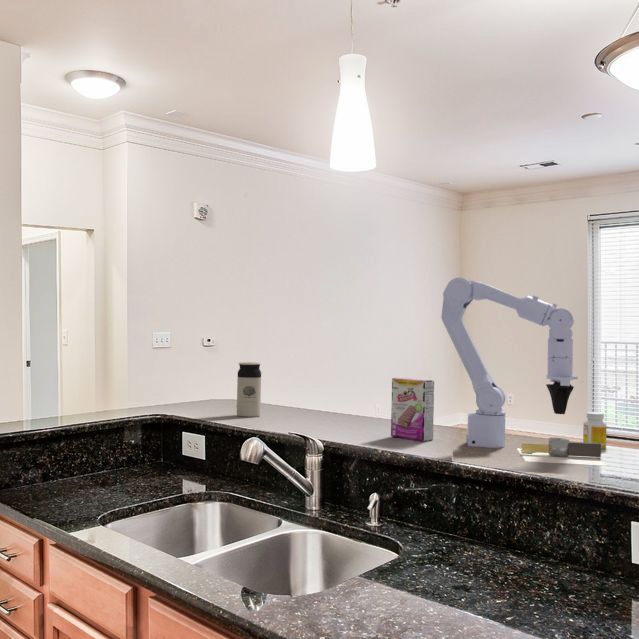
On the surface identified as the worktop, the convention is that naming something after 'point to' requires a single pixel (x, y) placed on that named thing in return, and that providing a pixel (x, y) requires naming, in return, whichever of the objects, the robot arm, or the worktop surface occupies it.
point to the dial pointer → (564, 448)
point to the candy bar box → (412, 408)
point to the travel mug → (249, 389)
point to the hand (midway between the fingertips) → (559, 413)
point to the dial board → (559, 458)
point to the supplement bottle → (595, 429)
